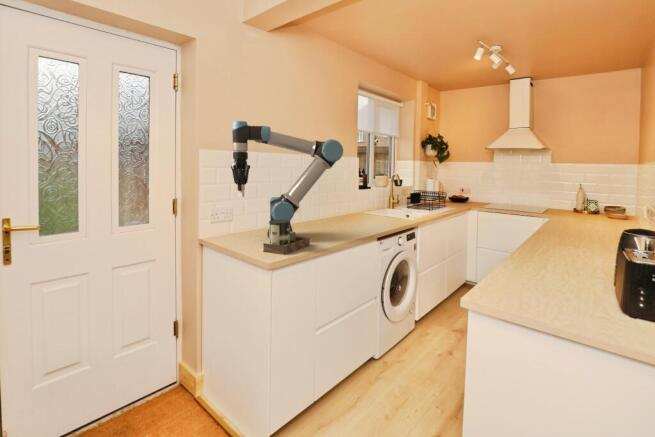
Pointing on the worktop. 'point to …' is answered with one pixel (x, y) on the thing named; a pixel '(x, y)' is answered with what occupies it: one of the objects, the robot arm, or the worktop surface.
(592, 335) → the worktop surface
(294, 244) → the comb rack
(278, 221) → the coffee can
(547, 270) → the worktop surface
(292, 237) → the grey block
